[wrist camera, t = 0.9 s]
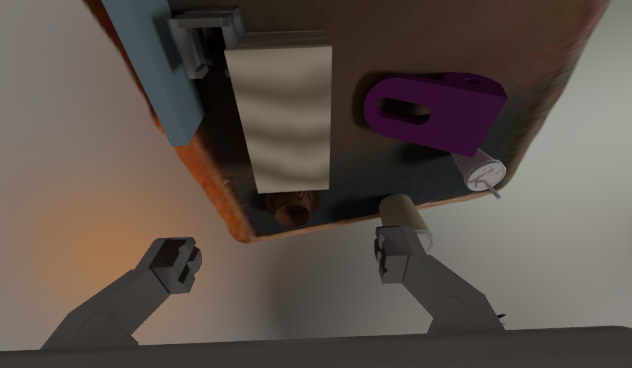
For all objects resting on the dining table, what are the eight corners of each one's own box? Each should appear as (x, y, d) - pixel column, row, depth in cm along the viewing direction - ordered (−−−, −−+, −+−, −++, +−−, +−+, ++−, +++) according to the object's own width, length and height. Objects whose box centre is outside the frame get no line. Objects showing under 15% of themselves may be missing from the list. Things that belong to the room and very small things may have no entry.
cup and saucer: (266, 172, 51) (264, 193, 47) (324, 177, 53) (327, 198, 49) (264, 211, 59) (262, 232, 54) (314, 214, 61) (316, 235, 56)
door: (99, -94, 26) (27, -113, 19) (140, -94, 26) (83, -114, 19) (183, 114, 42) (161, 146, 34) (208, 113, 42) (191, 144, 35)
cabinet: (192, 7, 32) (166, 20, 25) (324, 3, 33) (332, 14, 26) (237, 162, 49) (228, 195, 42) (323, 158, 49) (328, 189, 43)
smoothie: (435, 155, 51) (472, 205, 41) (457, 128, 47) (503, 176, 37) (459, 162, 53) (500, 212, 42) (482, 137, 49) (533, 185, 38)
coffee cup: (375, 220, 64) (389, 262, 55) (374, 194, 58) (389, 238, 49) (412, 213, 63) (432, 255, 54) (415, 187, 57) (438, 229, 48)
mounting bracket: (369, 110, 50) (468, 133, 46) (358, 129, 44) (472, 158, 39) (381, 57, 44) (498, 78, 39) (370, 71, 37) (508, 98, 33)
